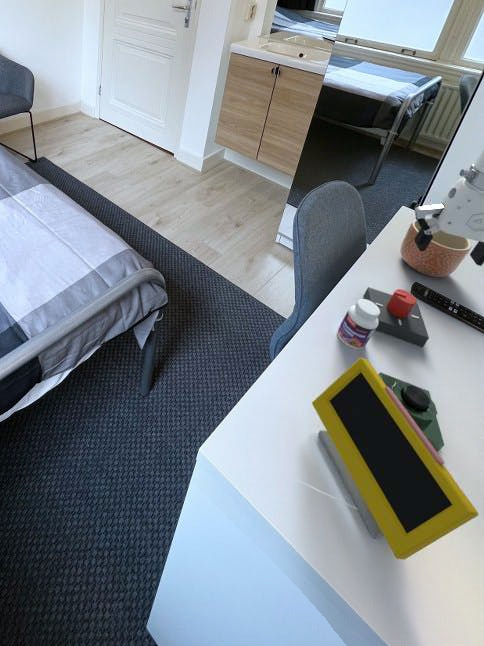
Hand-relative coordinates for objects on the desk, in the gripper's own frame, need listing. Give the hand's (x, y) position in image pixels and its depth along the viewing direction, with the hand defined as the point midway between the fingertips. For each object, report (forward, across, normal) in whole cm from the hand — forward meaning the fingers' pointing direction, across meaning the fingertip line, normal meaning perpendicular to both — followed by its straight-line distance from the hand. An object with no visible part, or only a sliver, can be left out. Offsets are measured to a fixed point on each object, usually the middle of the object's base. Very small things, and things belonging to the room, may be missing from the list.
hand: (446, 253), depth 83 cm
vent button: (+17, -6, -22) cm, 29 cm away
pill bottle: (+21, -12, -8) cm, 26 cm away
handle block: (+21, -2, 0) cm, 21 cm away
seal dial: (+18, -2, 0) cm, 18 cm away
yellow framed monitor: (+21, -16, -37) cm, 45 cm away
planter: (+21, +12, +24) cm, 34 cm away
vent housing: (+21, -6, -22) cm, 31 cm away
